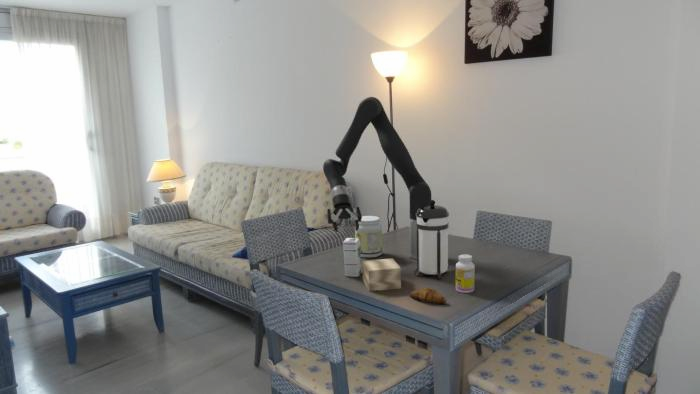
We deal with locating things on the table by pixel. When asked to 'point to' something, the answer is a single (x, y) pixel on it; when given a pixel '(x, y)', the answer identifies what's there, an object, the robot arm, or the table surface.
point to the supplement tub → (370, 236)
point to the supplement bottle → (465, 274)
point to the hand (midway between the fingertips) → (347, 230)
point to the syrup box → (352, 257)
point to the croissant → (428, 296)
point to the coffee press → (432, 240)
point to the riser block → (381, 274)
